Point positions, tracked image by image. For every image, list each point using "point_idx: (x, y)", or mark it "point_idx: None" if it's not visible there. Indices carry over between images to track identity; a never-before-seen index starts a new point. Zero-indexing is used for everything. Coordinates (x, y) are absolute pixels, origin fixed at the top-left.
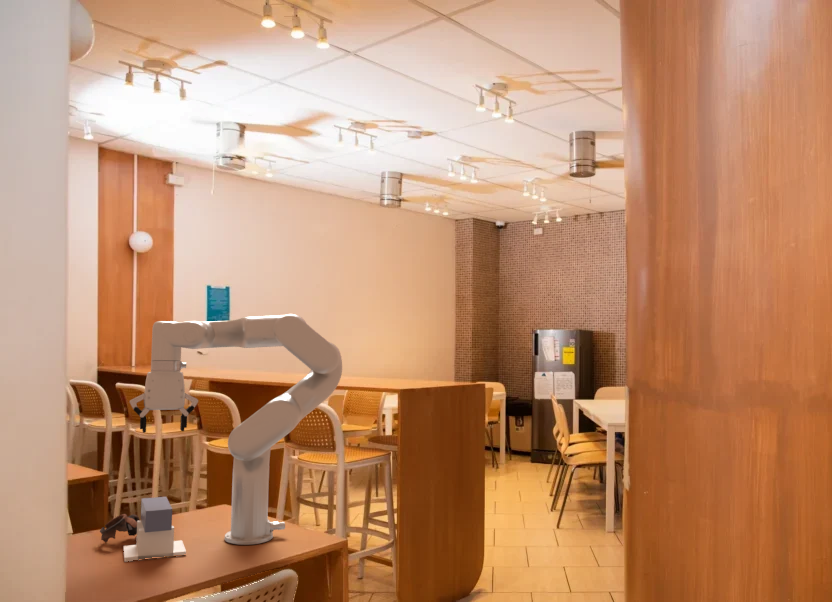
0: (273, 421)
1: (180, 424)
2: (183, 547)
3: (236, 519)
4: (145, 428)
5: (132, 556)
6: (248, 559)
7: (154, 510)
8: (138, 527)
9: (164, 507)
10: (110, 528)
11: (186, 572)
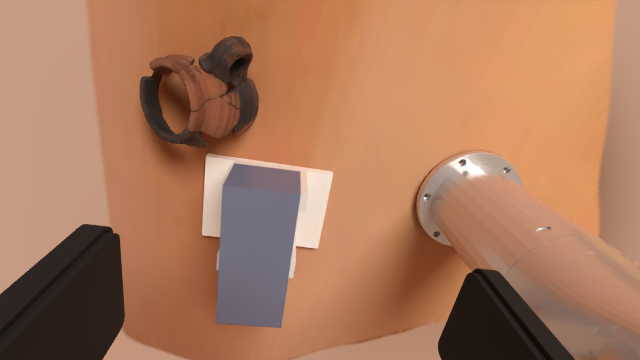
0: None
1: (497, 307)
2: (320, 224)
3: (449, 241)
4: (98, 354)
5: (217, 235)
6: (402, 304)
7: (237, 324)
8: None
9: (266, 308)
10: (161, 138)
11: (293, 318)
